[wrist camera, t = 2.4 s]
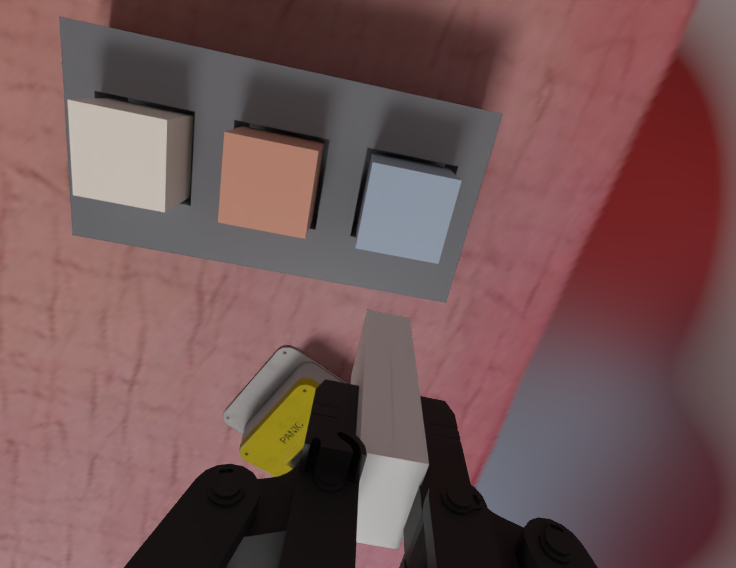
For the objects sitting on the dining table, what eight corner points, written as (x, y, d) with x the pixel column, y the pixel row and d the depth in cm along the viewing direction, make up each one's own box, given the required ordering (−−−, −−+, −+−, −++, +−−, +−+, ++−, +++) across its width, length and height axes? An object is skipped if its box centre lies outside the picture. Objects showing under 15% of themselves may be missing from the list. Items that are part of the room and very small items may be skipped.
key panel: (112, 214, 30) (72, 234, 26) (108, 28, 26) (59, 16, 21) (435, 274, 32) (446, 302, 28) (481, 110, 27) (502, 113, 23)
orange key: (235, 205, 26) (217, 222, 23) (242, 125, 24) (224, 131, 21) (312, 220, 26) (305, 238, 23) (324, 142, 24) (318, 151, 21)
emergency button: (361, 543, 37) (202, 453, 33) (361, 498, 41) (220, 414, 37) (439, 477, 34) (275, 370, 30) (431, 436, 38) (285, 337, 34)
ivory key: (109, 181, 25) (72, 195, 22) (107, 97, 24) (67, 99, 20) (189, 196, 26) (164, 212, 22) (193, 115, 24) (167, 120, 21)
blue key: (356, 229, 26) (355, 248, 23) (371, 152, 25) (372, 162, 21) (429, 242, 27) (438, 263, 24) (449, 168, 25) (461, 180, 22)
